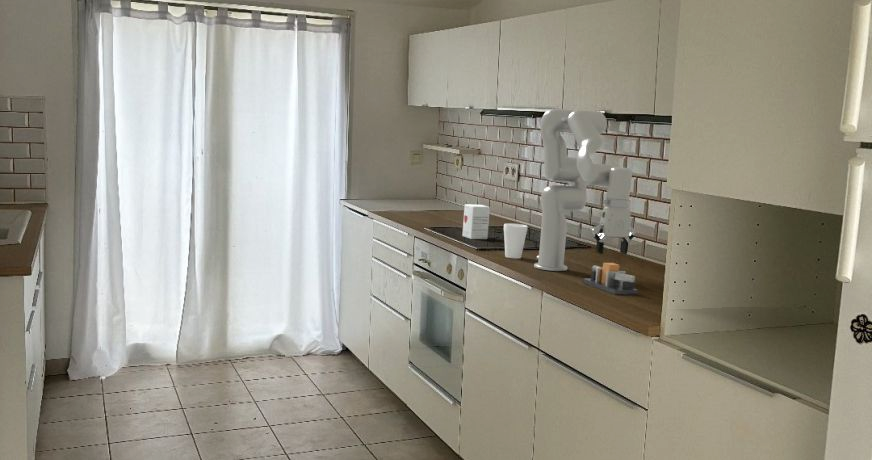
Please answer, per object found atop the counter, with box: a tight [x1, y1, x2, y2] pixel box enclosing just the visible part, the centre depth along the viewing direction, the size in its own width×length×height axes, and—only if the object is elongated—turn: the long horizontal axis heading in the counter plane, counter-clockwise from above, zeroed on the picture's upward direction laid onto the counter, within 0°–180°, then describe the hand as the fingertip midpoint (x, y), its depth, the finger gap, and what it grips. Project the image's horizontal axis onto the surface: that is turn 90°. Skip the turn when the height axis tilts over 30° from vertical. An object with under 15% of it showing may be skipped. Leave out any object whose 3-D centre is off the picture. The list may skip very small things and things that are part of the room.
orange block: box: [601, 262, 620, 284], centre depth 308 cm, size 4×4×7 cm
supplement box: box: [461, 203, 491, 240], centre depth 413 cm, size 9×9×15 cm
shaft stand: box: [582, 264, 639, 296], centre depth 309 cm, size 20×9×6 cm, turn 22°
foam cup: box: [503, 223, 528, 259], centre depth 363 cm, size 10×9×13 cm
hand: (611, 253), depth 308 cm, fingers open, 9 cm apart
